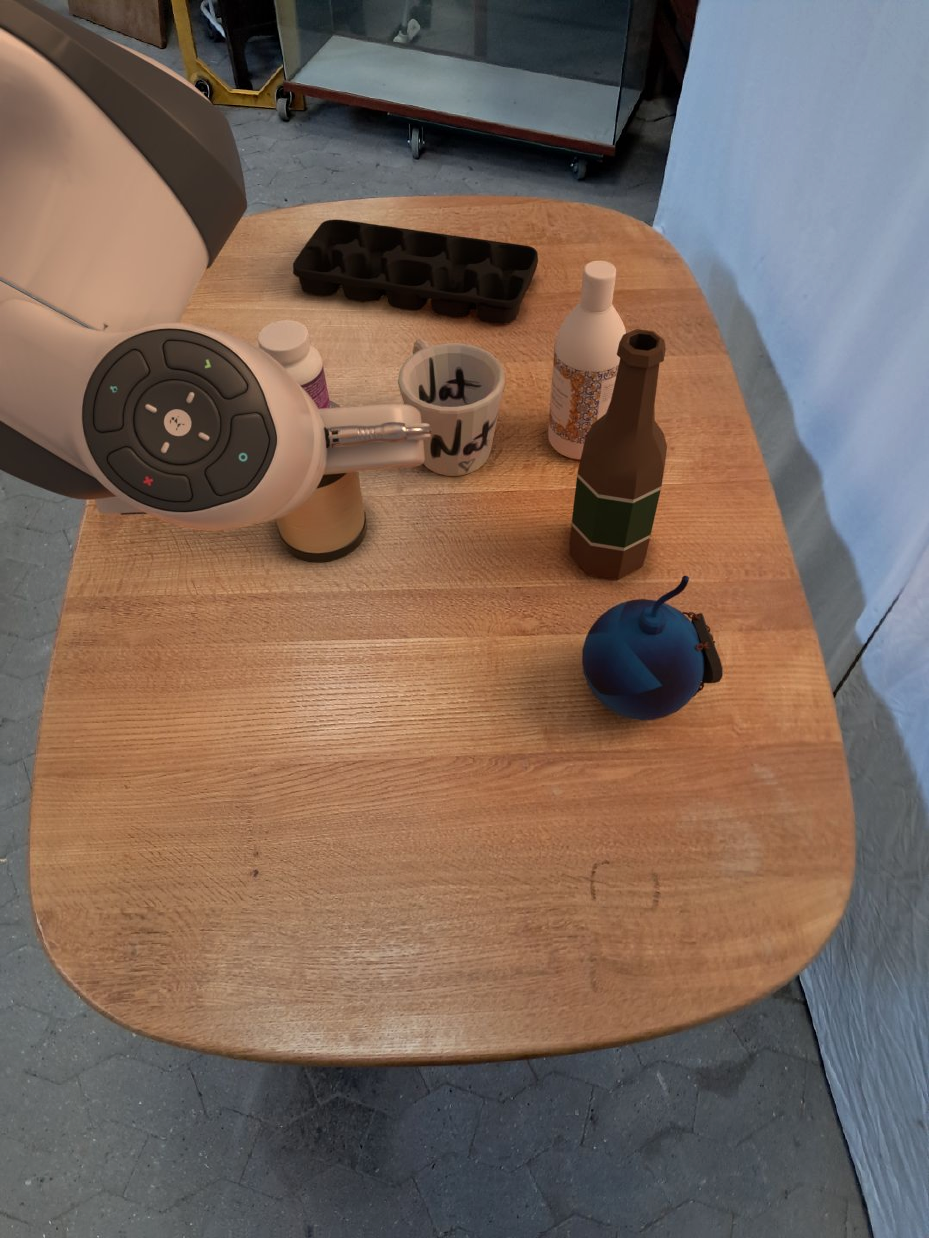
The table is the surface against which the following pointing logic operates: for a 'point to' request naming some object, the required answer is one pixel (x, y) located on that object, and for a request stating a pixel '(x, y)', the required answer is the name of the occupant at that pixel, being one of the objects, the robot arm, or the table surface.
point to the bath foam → (585, 361)
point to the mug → (454, 402)
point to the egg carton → (417, 269)
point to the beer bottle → (621, 467)
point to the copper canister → (326, 520)
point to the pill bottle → (296, 357)
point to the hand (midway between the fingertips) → (278, 454)
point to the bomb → (649, 657)
